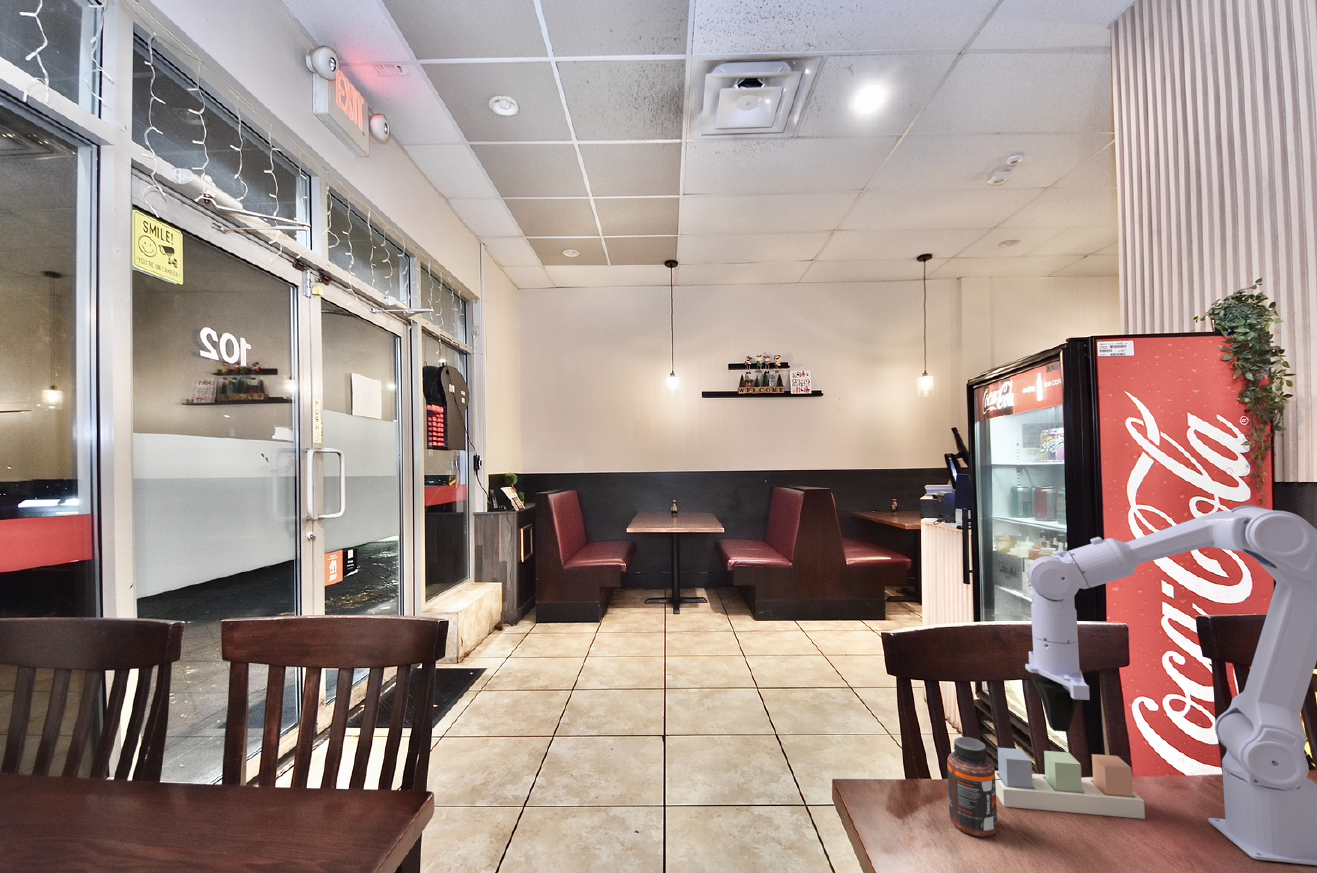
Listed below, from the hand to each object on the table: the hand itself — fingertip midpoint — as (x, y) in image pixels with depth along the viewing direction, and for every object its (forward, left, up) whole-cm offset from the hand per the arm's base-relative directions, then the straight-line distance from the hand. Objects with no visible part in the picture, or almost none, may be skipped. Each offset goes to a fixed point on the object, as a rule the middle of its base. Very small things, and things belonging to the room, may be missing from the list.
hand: (1059, 729), depth 87 cm
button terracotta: (-6, +1, -8) cm, 11 cm away
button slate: (+7, +1, -8) cm, 11 cm away
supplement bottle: (+15, +8, -11) cm, 20 cm away
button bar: (0, +1, -10) cm, 10 cm away
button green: (0, +1, -8) cm, 8 cm away
